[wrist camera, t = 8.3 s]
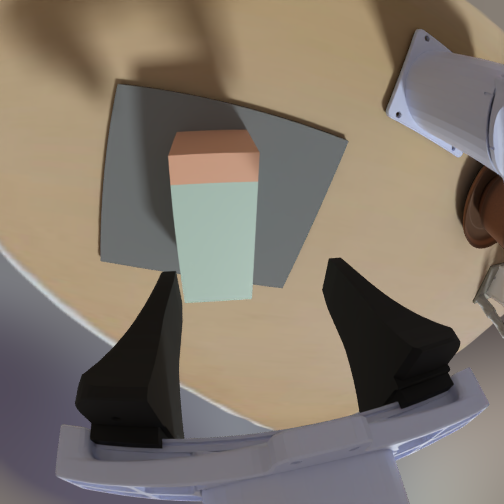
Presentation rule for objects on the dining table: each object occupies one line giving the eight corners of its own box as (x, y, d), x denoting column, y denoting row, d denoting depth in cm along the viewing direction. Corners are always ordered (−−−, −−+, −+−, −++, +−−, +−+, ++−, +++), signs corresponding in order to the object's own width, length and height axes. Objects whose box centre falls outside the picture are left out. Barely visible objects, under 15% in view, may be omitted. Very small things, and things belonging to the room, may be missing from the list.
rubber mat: (346, 139, 20) (348, 141, 20) (281, 285, 28) (282, 288, 27) (119, 83, 16) (117, 84, 15) (101, 258, 23) (100, 260, 23)
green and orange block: (242, 254, 24) (251, 298, 20) (186, 257, 24) (185, 302, 20) (246, 129, 18) (259, 152, 15) (176, 132, 18) (168, 155, 14)
